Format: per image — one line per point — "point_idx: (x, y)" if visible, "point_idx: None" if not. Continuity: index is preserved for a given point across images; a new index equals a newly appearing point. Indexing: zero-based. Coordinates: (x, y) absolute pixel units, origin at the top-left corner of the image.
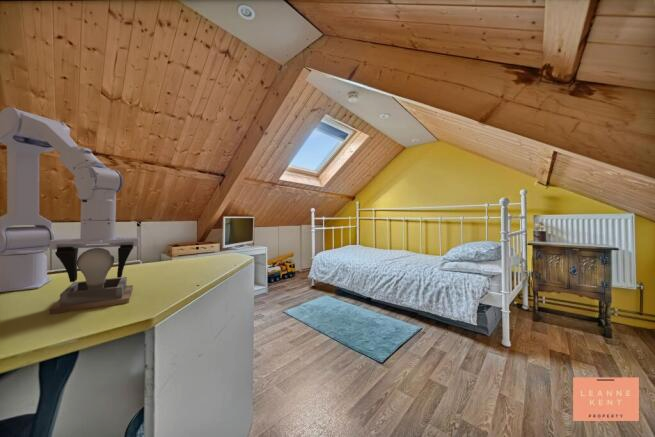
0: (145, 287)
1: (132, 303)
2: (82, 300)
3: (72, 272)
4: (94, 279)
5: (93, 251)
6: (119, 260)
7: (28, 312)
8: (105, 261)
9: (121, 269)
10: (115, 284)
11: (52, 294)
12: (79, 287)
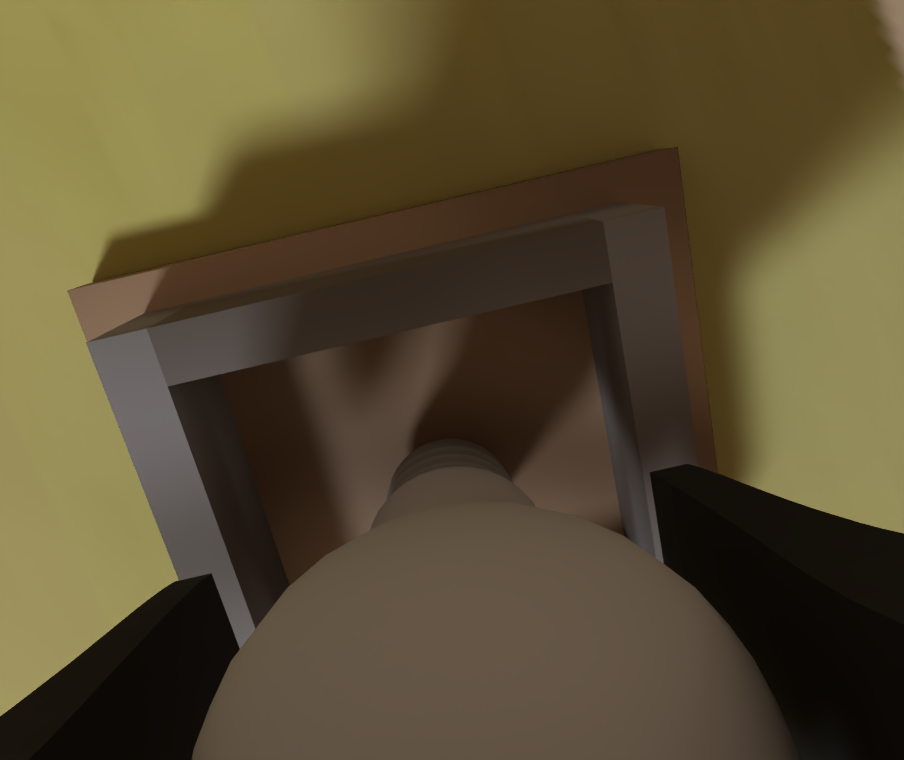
0: None
1: (40, 247)
2: (459, 241)
3: (721, 510)
4: (440, 495)
5: None
6: (23, 757)
7: (835, 263)
8: (242, 663)
9: (99, 640)
10: None
11: None
12: None
